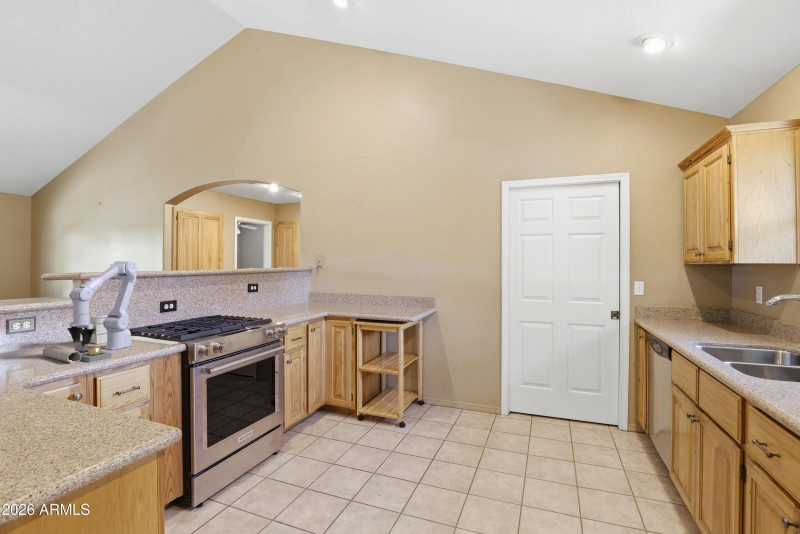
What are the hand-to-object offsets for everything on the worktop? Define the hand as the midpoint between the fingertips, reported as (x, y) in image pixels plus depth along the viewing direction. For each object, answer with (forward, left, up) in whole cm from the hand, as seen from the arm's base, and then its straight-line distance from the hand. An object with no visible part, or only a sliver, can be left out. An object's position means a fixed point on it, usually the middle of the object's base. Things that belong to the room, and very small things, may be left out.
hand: (81, 343), depth 181 cm
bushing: (0, 0, -6) cm, 6 cm away
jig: (0, +5, -6) cm, 8 cm away
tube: (+7, -2, -6) cm, 10 cm away
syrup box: (-20, -22, -6) cm, 30 cm away
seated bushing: (0, +10, -6) cm, 12 cm away
